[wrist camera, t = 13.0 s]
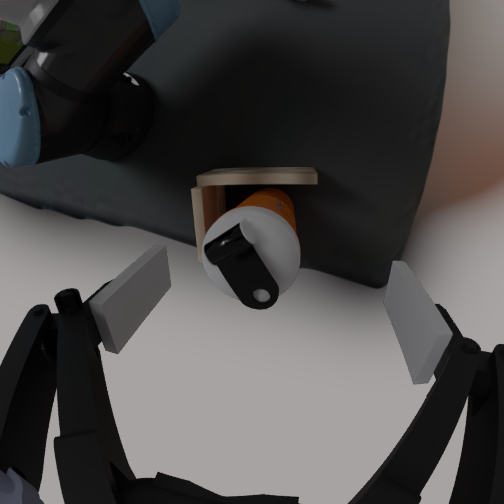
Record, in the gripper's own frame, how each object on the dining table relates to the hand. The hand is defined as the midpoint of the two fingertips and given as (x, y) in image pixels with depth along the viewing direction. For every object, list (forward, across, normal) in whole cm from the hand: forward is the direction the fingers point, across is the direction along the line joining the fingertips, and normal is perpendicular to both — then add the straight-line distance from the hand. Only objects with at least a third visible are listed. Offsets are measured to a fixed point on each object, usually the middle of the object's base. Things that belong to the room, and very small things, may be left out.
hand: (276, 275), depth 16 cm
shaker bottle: (+26, -3, -3) cm, 26 cm away
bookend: (+26, -4, -2) cm, 26 cm away
